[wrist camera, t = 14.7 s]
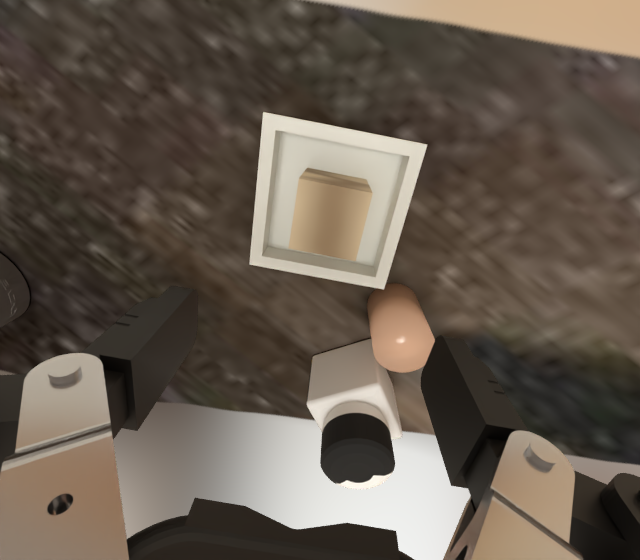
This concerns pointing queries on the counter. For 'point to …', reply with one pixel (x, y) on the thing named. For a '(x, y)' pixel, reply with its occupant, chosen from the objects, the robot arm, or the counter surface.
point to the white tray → (342, 158)
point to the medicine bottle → (354, 415)
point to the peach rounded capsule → (398, 328)
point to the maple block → (330, 214)
